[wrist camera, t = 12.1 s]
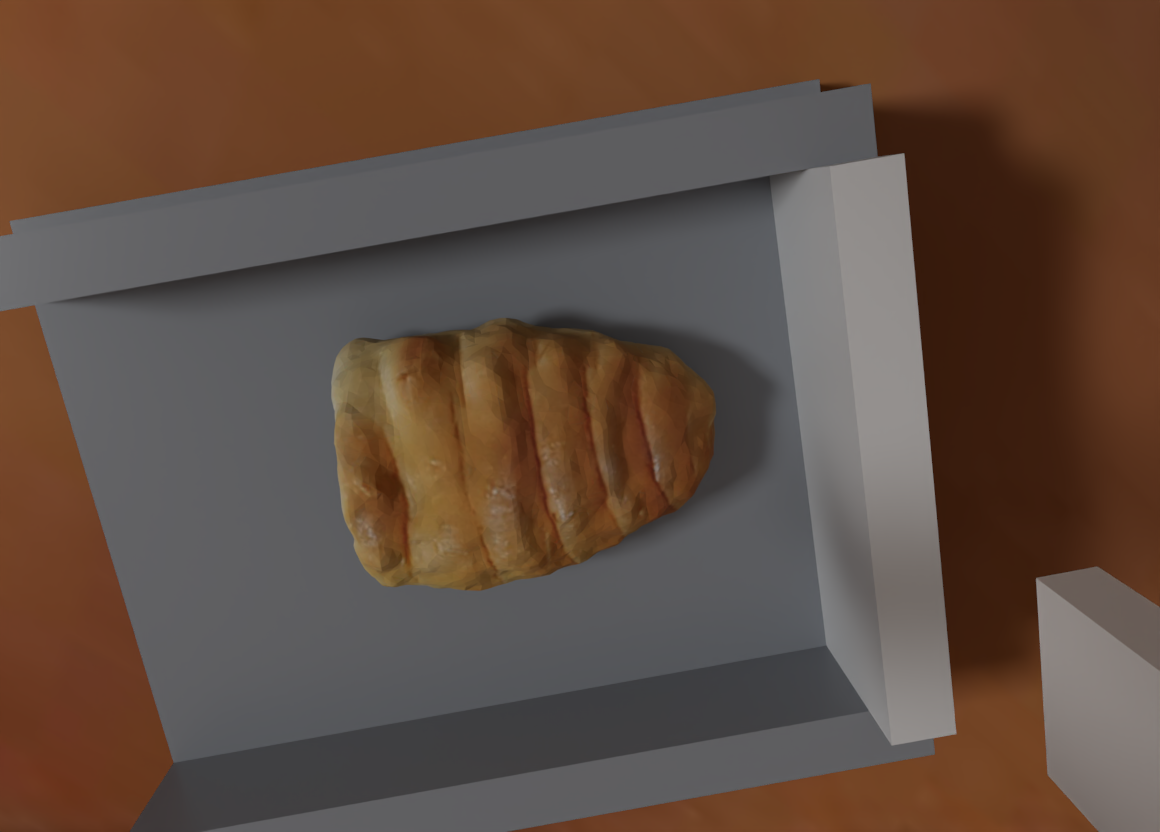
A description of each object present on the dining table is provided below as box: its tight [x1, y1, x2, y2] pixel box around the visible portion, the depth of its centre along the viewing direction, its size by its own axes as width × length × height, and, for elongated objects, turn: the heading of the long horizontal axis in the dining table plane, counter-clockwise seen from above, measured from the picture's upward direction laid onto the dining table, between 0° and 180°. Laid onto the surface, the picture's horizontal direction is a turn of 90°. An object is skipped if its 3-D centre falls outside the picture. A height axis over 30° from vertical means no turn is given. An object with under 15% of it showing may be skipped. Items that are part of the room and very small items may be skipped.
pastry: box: [331, 318, 716, 591], centre depth 23 cm, size 9×7×4 cm
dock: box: [0, 79, 956, 832], centre depth 23 cm, size 20×17×6 cm
